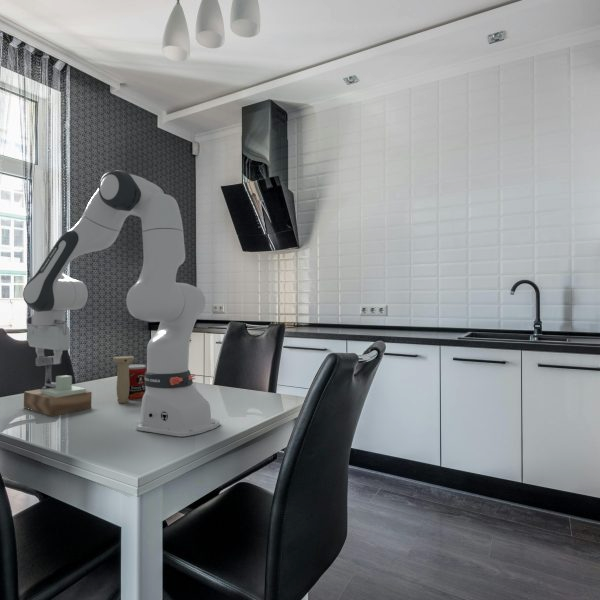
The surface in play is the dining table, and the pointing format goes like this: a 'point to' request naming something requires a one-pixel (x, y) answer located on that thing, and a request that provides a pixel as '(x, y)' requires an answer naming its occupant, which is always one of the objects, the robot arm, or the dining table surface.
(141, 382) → the canned food
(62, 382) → the lid
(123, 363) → the handle
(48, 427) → the dining table surface
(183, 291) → the robot arm
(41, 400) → the case
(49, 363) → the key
